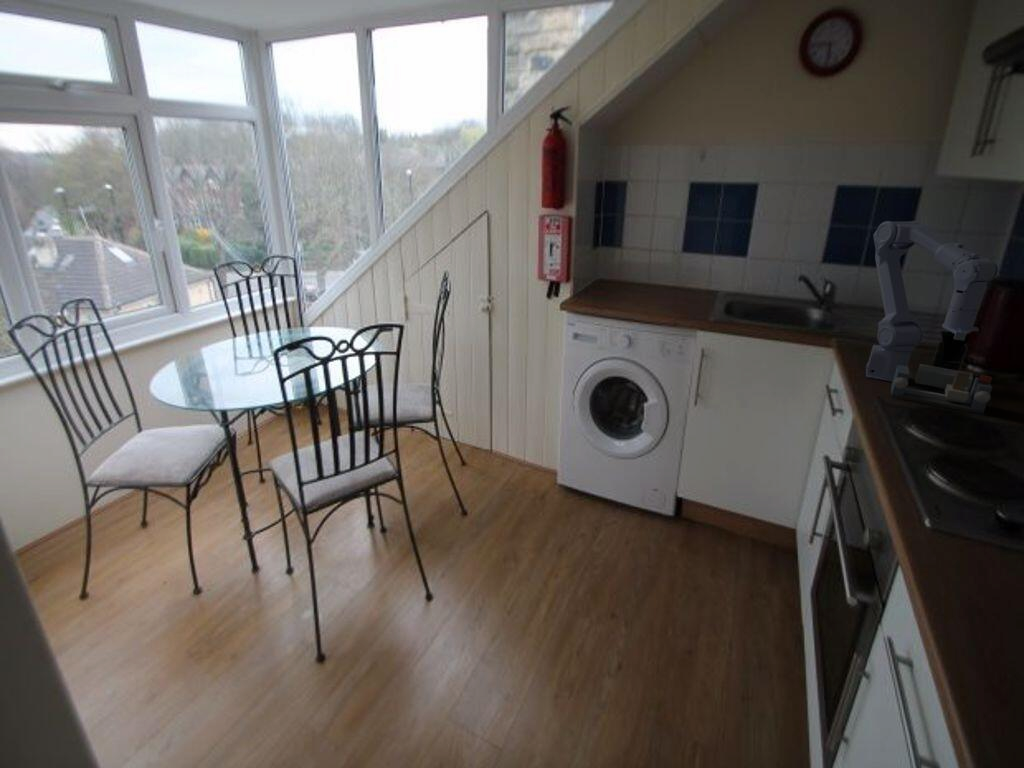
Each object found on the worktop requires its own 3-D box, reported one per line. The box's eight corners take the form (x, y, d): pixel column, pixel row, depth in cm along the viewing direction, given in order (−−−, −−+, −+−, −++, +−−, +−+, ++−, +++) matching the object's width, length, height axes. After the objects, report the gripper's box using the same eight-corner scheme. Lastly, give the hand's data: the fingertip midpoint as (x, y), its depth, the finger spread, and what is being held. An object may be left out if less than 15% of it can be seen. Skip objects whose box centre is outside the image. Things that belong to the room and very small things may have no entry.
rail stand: (889, 396, 142) (896, 372, 139) (889, 387, 148) (896, 364, 146) (984, 414, 132) (994, 388, 130) (980, 403, 138) (989, 378, 136)
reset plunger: (978, 381, 133) (980, 377, 133) (977, 379, 135) (978, 374, 135) (991, 384, 132) (992, 379, 131) (989, 380, 134) (991, 376, 133)
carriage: (945, 400, 137) (954, 373, 134) (943, 394, 141) (952, 367, 138) (965, 404, 135) (975, 376, 132) (963, 397, 139) (972, 370, 136)
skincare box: (968, 387, 149) (915, 377, 156) (973, 373, 147) (920, 363, 154) (968, 394, 144) (913, 383, 151) (973, 379, 143) (918, 368, 150)
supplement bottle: (949, 378, 155) (962, 338, 151) (924, 370, 161) (936, 331, 157) (963, 375, 158) (977, 335, 153) (938, 367, 164) (951, 329, 159)
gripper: (989, 316, 125) (970, 371, 130) (979, 305, 136) (963, 355, 141) (951, 312, 129) (934, 366, 133) (945, 301, 140) (930, 351, 145)
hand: (946, 360), depth 138 cm, fingers closed
